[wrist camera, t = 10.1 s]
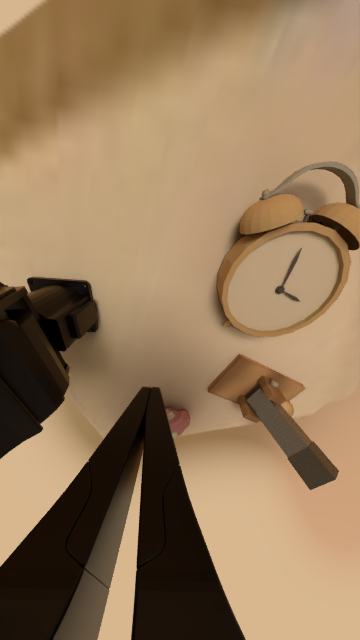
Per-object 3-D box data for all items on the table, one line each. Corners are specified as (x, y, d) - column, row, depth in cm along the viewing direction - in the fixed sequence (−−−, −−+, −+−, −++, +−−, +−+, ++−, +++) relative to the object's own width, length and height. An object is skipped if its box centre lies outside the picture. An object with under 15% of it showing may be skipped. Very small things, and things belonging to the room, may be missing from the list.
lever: (245, 400, 25) (310, 490, 19) (260, 388, 24) (335, 479, 17) (252, 398, 27) (314, 481, 20) (266, 386, 25) (338, 471, 19)
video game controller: (185, 395, 30) (178, 420, 24) (193, 418, 31) (188, 451, 24) (136, 406, 32) (116, 433, 25) (143, 429, 32) (126, 462, 25)
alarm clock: (209, 333, 19) (272, 140, 9) (205, 307, 23) (247, 152, 13) (305, 343, 20) (453, 173, 10) (285, 317, 23) (380, 175, 14)
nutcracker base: (207, 387, 27) (211, 411, 24) (239, 353, 24) (249, 375, 20) (266, 411, 30) (277, 435, 27) (302, 384, 27) (320, 408, 23)
